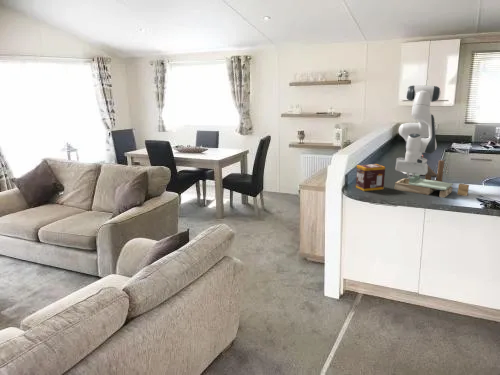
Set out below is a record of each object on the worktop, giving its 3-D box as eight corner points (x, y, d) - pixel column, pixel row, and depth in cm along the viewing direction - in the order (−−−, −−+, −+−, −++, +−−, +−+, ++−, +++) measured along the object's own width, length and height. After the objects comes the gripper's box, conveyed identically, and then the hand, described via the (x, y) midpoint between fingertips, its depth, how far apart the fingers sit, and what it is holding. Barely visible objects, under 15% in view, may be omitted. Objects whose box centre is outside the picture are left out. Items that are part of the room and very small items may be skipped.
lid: (416, 179, 266) (417, 173, 265) (452, 184, 251) (453, 178, 250) (408, 184, 254) (409, 178, 253) (445, 190, 240) (446, 183, 239)
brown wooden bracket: (424, 184, 272) (427, 159, 267) (441, 186, 267) (444, 160, 263) (424, 185, 269) (427, 159, 264) (441, 187, 264) (444, 161, 260)
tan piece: (403, 184, 272) (403, 178, 271) (451, 192, 253) (452, 185, 251) (394, 189, 261) (395, 182, 260) (444, 197, 241) (445, 190, 240)
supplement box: (355, 187, 267) (356, 165, 263) (375, 185, 271) (376, 163, 267) (363, 191, 257) (364, 168, 253) (383, 189, 261) (385, 166, 257)
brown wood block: (459, 193, 250) (460, 183, 248) (467, 194, 247) (469, 184, 245) (457, 194, 247) (458, 184, 245) (466, 196, 244) (467, 186, 242)
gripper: (394, 157, 261) (392, 177, 265) (426, 161, 248) (424, 182, 252) (398, 156, 266) (396, 176, 269) (429, 159, 253) (427, 180, 256)
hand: (410, 179), depth 260 cm, fingers closed
